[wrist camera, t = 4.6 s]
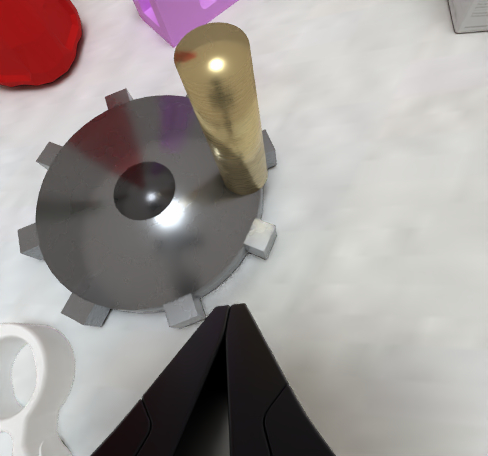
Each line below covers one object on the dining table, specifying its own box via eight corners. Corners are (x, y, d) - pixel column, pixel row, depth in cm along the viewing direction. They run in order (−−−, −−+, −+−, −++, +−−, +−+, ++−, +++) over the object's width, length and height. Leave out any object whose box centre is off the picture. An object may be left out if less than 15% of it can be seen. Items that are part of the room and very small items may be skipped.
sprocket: (211, 385, 20) (111, 433, 9) (-9, 268, 25) (-256, 205, 14) (320, 135, 25) (342, -38, 14) (117, 77, 30) (10, -88, 18)
